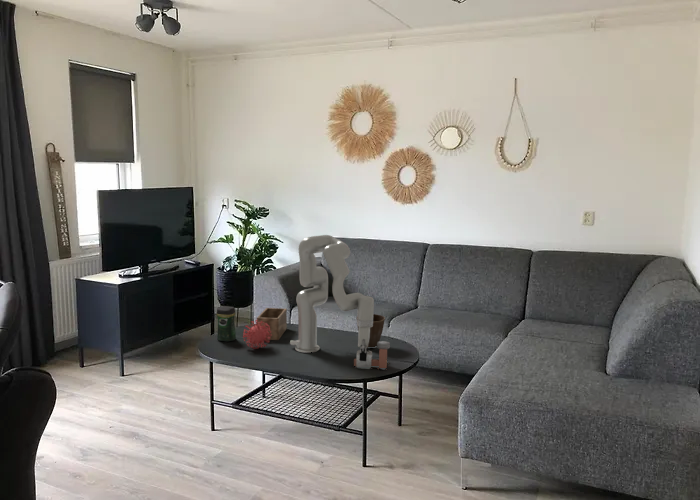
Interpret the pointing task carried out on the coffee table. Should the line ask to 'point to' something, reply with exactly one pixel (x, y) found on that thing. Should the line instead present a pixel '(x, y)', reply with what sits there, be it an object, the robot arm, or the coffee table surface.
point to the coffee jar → (226, 323)
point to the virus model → (257, 334)
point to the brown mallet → (380, 355)
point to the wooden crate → (274, 321)
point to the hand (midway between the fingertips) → (363, 357)
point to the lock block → (364, 363)
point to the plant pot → (376, 330)
